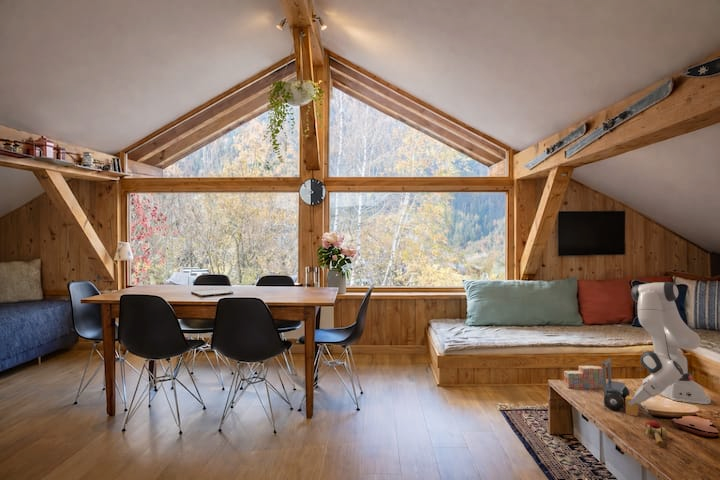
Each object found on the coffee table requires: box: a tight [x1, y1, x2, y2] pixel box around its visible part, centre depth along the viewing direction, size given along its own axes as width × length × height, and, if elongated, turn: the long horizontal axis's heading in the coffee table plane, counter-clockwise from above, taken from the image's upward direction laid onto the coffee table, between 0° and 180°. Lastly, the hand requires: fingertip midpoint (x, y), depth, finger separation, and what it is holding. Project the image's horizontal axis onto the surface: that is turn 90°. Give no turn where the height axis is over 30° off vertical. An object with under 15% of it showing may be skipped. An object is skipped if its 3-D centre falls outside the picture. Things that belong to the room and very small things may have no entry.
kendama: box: [644, 419, 666, 448], centre depth 198 cm, size 8×6×18 cm
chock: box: [625, 395, 640, 417], centre depth 228 cm, size 5×5×8 cm
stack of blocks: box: [563, 365, 604, 390], centre depth 272 cm, size 21×6×12 cm, turn 88°
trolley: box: [602, 357, 631, 412], centre depth 241 cm, size 10×21×23 cm, turn 141°
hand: (630, 401), depth 229 cm, fingers open, 8 cm apart
